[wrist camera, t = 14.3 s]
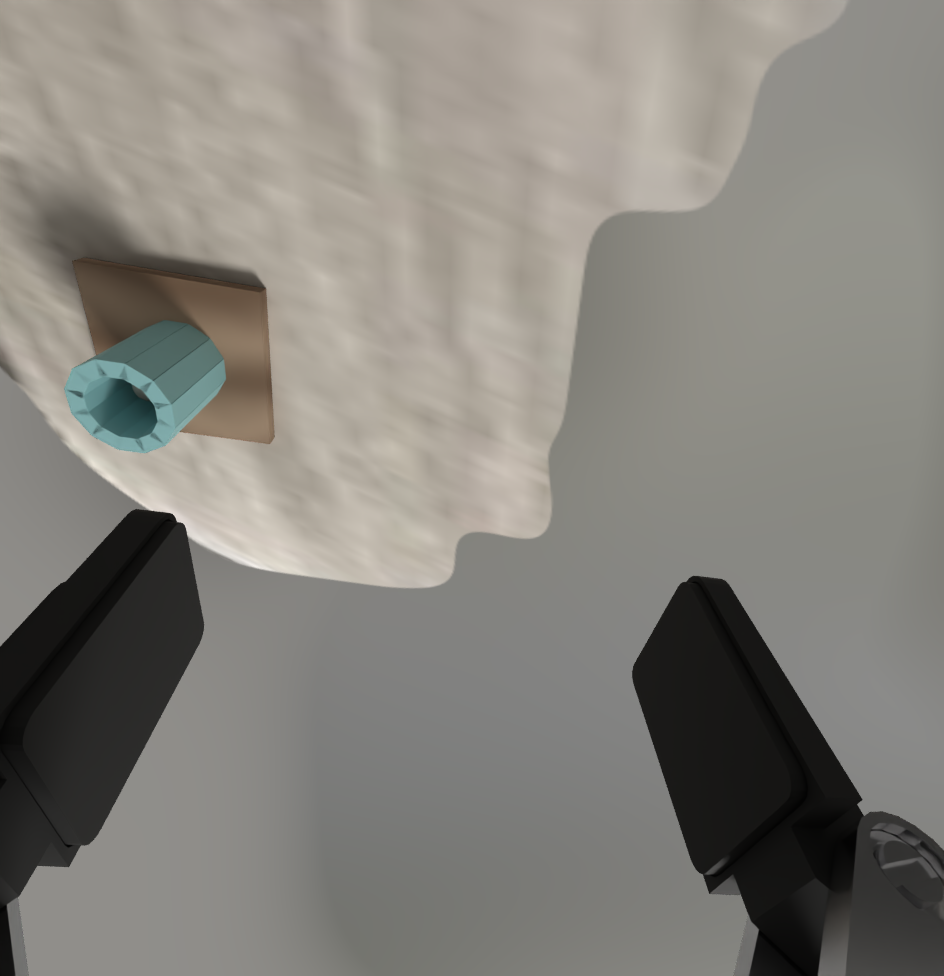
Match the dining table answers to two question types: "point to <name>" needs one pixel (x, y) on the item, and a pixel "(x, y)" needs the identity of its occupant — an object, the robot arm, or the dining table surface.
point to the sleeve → (146, 386)
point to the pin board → (205, 306)
